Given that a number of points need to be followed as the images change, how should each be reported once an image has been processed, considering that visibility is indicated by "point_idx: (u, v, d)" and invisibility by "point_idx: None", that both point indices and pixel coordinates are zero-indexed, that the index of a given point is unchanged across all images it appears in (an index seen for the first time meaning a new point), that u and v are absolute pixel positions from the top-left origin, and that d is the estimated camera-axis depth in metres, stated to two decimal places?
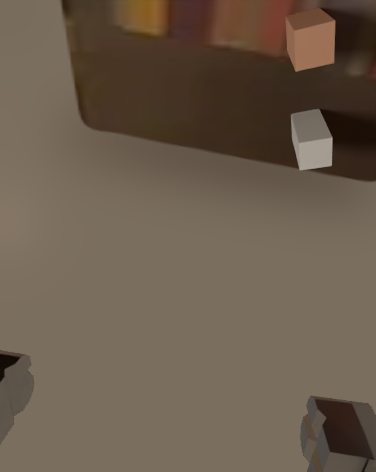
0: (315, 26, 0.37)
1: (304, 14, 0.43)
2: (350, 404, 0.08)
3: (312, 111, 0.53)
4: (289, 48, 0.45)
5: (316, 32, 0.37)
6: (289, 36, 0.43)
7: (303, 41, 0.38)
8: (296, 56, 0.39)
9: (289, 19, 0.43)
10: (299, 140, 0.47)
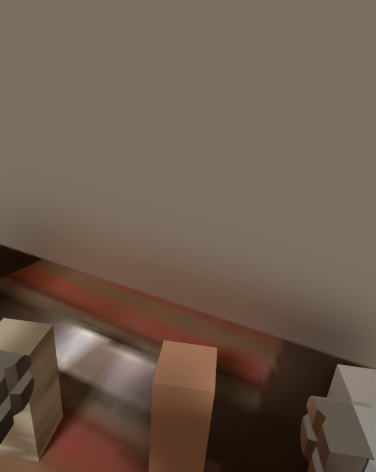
0: (160, 358, 0.25)
1: None
2: (350, 404, 0.08)
3: None
4: (191, 457, 0.25)
5: (168, 358, 0.25)
6: (171, 446, 0.25)
7: (173, 374, 0.24)
8: (191, 386, 0.23)
9: (150, 452, 0.26)
10: None
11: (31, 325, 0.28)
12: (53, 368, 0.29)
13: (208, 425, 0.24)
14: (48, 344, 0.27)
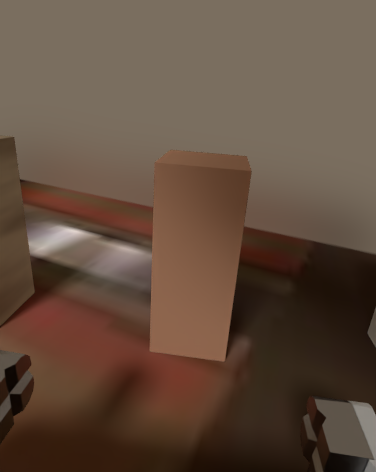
0: (165, 155, 0.17)
1: None
2: (350, 404, 0.08)
3: None
4: (211, 303, 0.17)
5: (178, 155, 0.17)
6: (182, 286, 0.17)
7: (186, 161, 0.16)
8: (214, 167, 0.15)
9: None
10: None
11: None
12: (16, 206, 0.21)
13: (239, 240, 0.16)
14: (7, 160, 0.19)
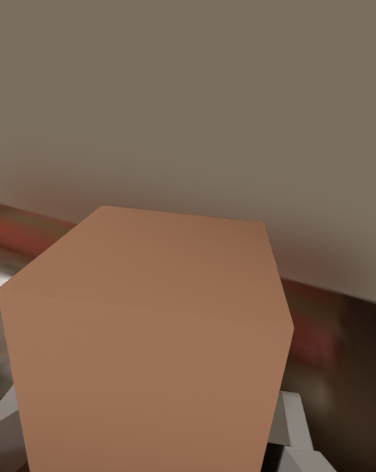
0: (71, 234, 0.07)
1: None
2: (279, 394, 0.09)
3: None
4: None
5: (101, 234, 0.07)
6: None
7: (105, 269, 0.06)
8: (178, 307, 0.05)
9: None
10: None
11: None
12: None
13: None
14: None
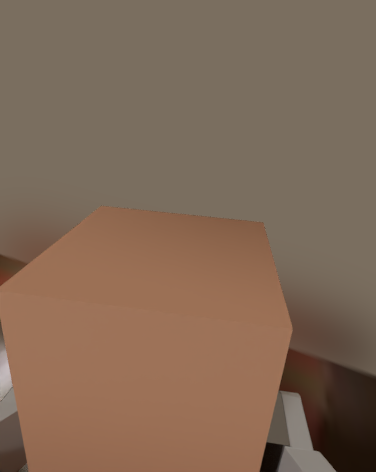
0: (71, 234, 0.07)
1: None
2: (278, 393, 0.09)
3: None
4: None
5: (100, 235, 0.07)
6: None
7: (104, 269, 0.06)
8: (177, 307, 0.05)
9: None
10: None
11: None
12: None
13: None
14: None
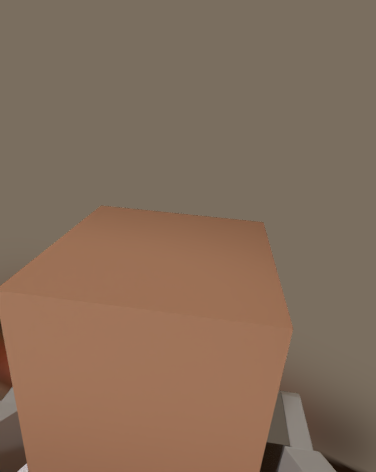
0: (70, 234, 0.07)
1: None
2: (278, 394, 0.09)
3: None
4: None
5: (100, 235, 0.07)
6: None
7: (103, 269, 0.06)
8: (177, 307, 0.05)
9: None
10: None
11: None
12: None
13: None
14: None
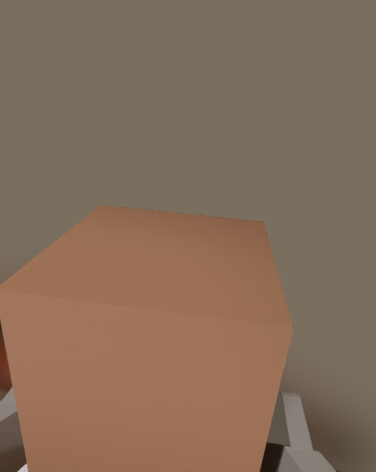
0: (70, 233, 0.07)
1: None
2: (278, 394, 0.09)
3: None
4: None
5: (100, 234, 0.07)
6: None
7: (103, 268, 0.06)
8: (177, 306, 0.05)
9: None
10: None
11: None
12: None
13: None
14: None
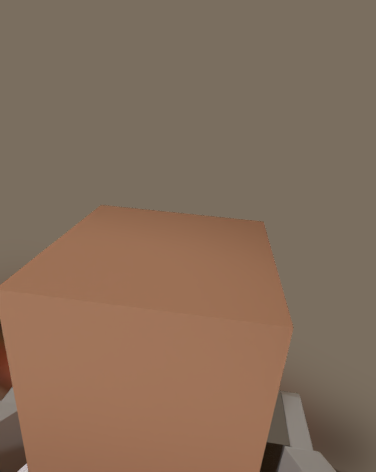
0: (70, 233, 0.07)
1: None
2: (278, 394, 0.09)
3: None
4: None
5: (100, 234, 0.07)
6: None
7: (103, 268, 0.06)
8: (177, 306, 0.05)
9: None
10: None
11: None
12: None
13: None
14: None
